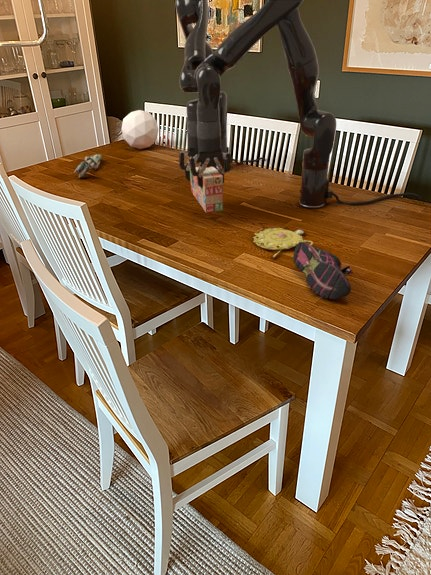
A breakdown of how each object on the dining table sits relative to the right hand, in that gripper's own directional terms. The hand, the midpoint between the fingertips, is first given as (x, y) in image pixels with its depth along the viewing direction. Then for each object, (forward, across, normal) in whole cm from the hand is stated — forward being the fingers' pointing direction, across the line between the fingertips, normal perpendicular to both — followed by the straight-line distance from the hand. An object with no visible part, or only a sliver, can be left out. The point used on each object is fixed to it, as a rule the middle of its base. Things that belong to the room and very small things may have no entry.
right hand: (211, 185), depth 149 cm
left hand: (+2, 0, +14) cm, 14 cm away
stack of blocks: (+8, 0, +7) cm, 11 cm away
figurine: (+13, -38, +77) cm, 87 cm away
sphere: (+13, -9, +106) cm, 107 cm away
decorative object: (+13, +16, -24) cm, 31 cm away
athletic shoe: (+13, +18, -49) cm, 54 cm away
